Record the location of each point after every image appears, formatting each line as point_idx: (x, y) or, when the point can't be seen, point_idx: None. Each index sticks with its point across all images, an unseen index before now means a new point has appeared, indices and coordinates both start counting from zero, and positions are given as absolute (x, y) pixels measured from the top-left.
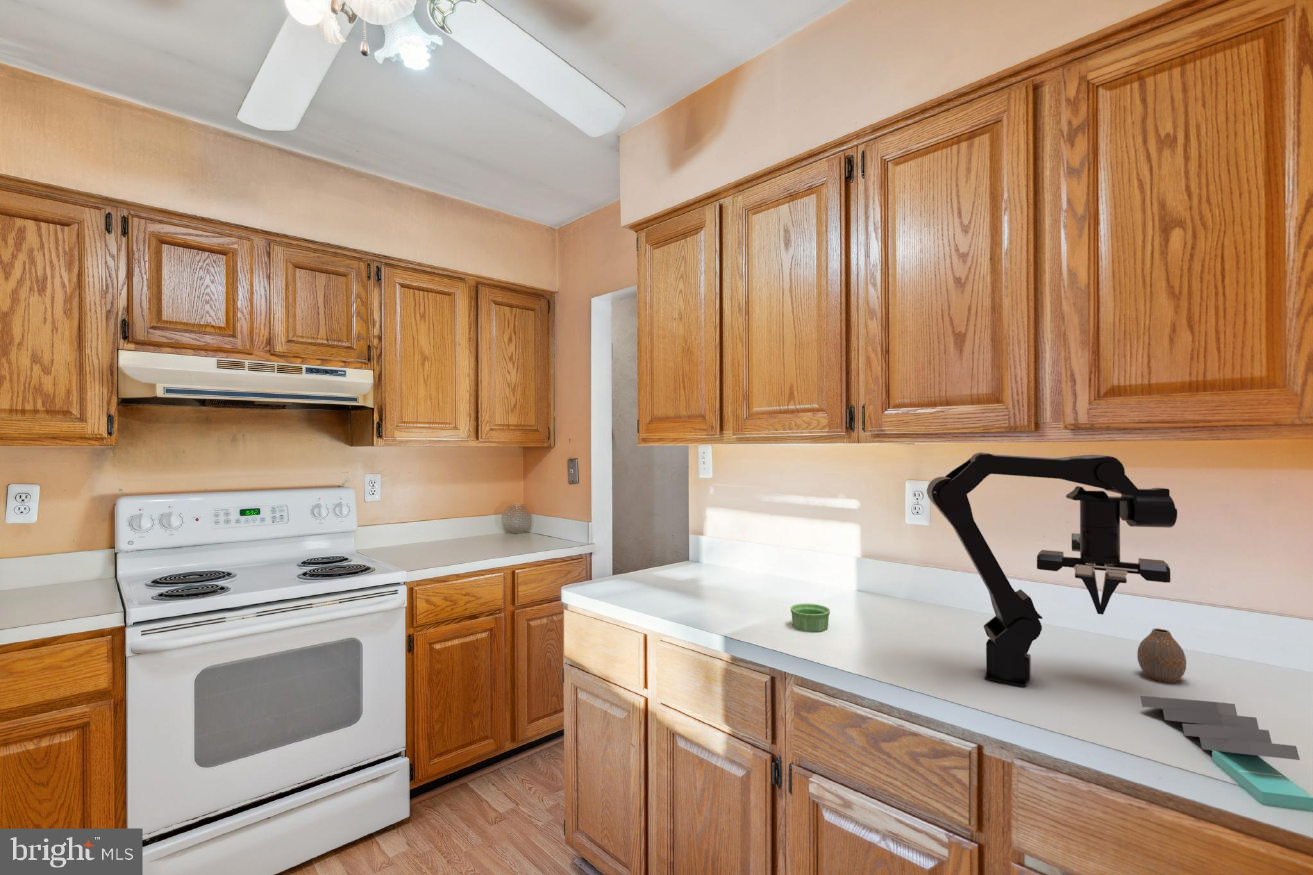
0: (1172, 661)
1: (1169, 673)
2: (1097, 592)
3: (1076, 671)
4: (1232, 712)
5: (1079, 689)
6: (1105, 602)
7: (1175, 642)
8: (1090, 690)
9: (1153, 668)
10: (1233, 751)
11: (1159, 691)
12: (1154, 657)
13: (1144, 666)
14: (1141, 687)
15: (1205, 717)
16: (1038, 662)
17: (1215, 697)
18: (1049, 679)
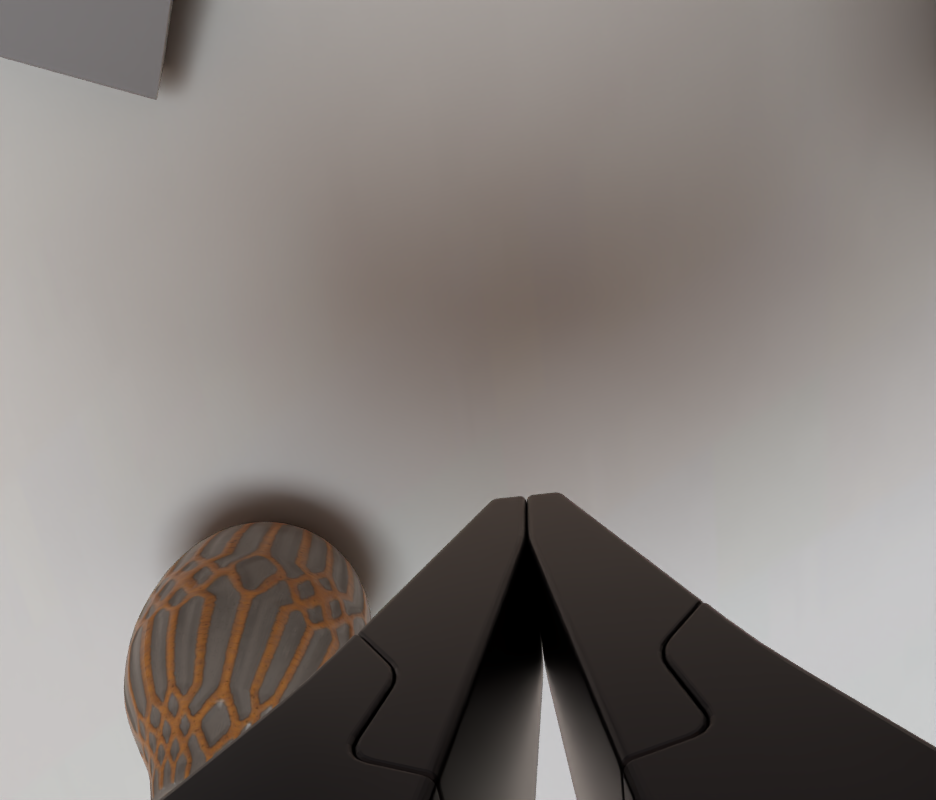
0: (170, 592)
1: (210, 540)
2: (589, 681)
3: (657, 399)
4: None
5: (619, 65)
6: (443, 581)
7: (138, 739)
8: (555, 100)
9: (279, 542)
10: None
11: (242, 370)
12: (255, 587)
13: (328, 558)
14: (325, 371)
15: None
16: (870, 411)
17: (32, 461)
18: (808, 128)
